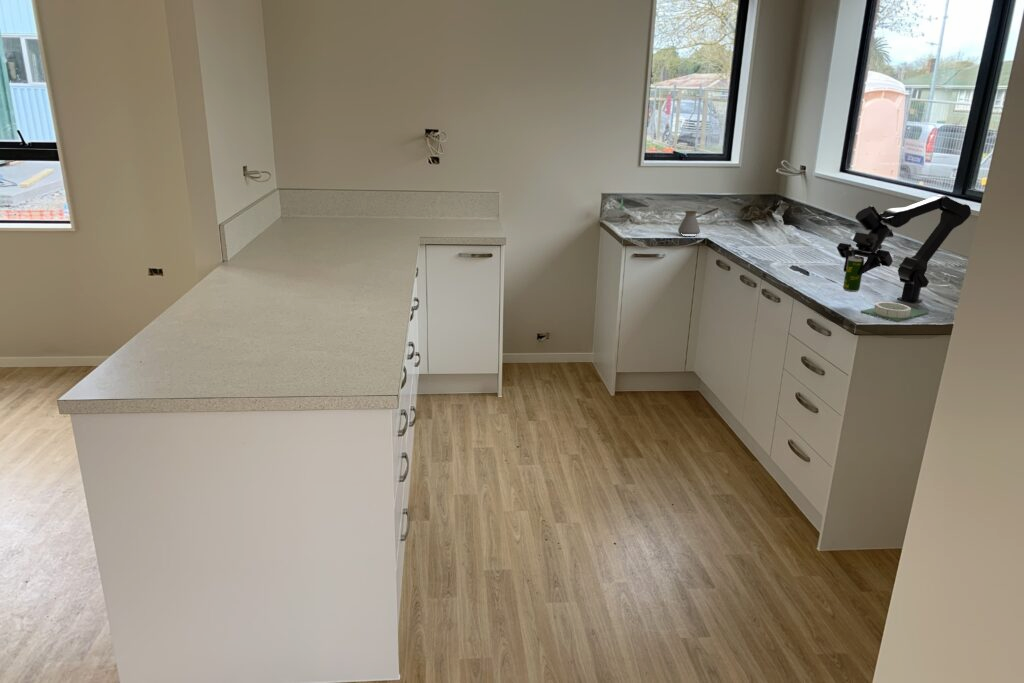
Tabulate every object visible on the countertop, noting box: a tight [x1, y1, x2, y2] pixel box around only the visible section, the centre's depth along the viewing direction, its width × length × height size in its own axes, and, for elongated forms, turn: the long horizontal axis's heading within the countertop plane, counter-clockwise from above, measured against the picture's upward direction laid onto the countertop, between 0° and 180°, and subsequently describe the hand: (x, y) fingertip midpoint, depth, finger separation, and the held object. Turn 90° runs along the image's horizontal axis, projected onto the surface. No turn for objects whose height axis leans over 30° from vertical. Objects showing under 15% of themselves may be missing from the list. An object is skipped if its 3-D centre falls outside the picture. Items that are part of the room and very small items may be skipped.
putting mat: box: [860, 307, 929, 323], centre depth 253 cm, size 20×13×1 cm, turn 124°
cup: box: [873, 301, 912, 318], centre depth 251 cm, size 11×11×2 cm
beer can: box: [842, 255, 865, 293], centre depth 257 cm, size 5×5×12 cm
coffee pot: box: [677, 207, 720, 235], centre depth 386 cm, size 21×12×15 cm, turn 99°
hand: (851, 272), depth 256 cm, fingers closed on beer can, 5 cm apart
